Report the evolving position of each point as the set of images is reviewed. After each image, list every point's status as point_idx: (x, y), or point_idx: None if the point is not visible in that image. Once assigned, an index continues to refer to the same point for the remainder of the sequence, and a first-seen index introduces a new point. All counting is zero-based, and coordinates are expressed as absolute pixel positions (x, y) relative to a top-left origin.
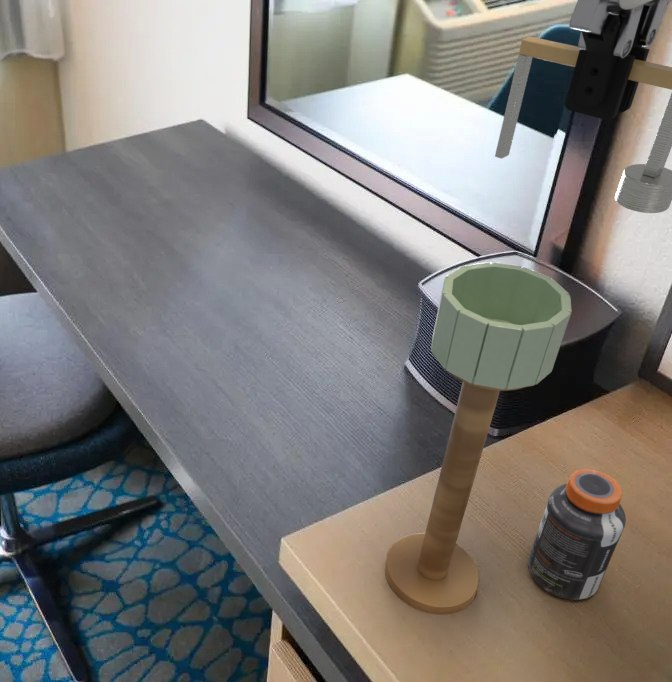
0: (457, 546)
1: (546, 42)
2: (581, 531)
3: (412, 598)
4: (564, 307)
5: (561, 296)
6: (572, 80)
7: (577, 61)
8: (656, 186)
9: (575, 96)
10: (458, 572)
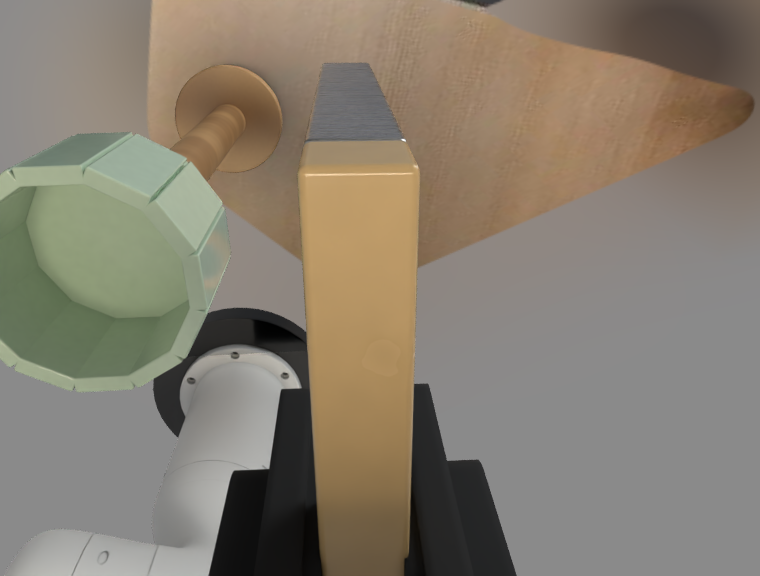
0: (277, 121)
1: (354, 334)
2: None
3: (178, 132)
4: (137, 375)
5: (164, 355)
6: (270, 464)
7: (262, 534)
8: None
9: (233, 474)
10: (249, 144)
